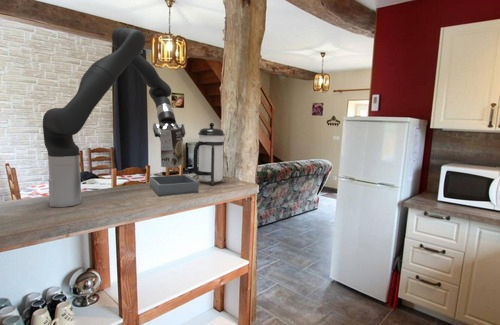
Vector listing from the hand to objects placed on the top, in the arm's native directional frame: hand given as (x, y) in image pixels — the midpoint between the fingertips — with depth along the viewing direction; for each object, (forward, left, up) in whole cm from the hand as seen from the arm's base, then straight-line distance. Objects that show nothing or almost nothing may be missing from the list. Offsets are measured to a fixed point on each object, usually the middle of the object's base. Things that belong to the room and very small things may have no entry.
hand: (172, 143), depth 128 cm
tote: (0, -2, -21) cm, 21 cm away
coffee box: (0, -2, -10) cm, 10 cm away
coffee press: (+20, +5, -21) cm, 29 cm away
